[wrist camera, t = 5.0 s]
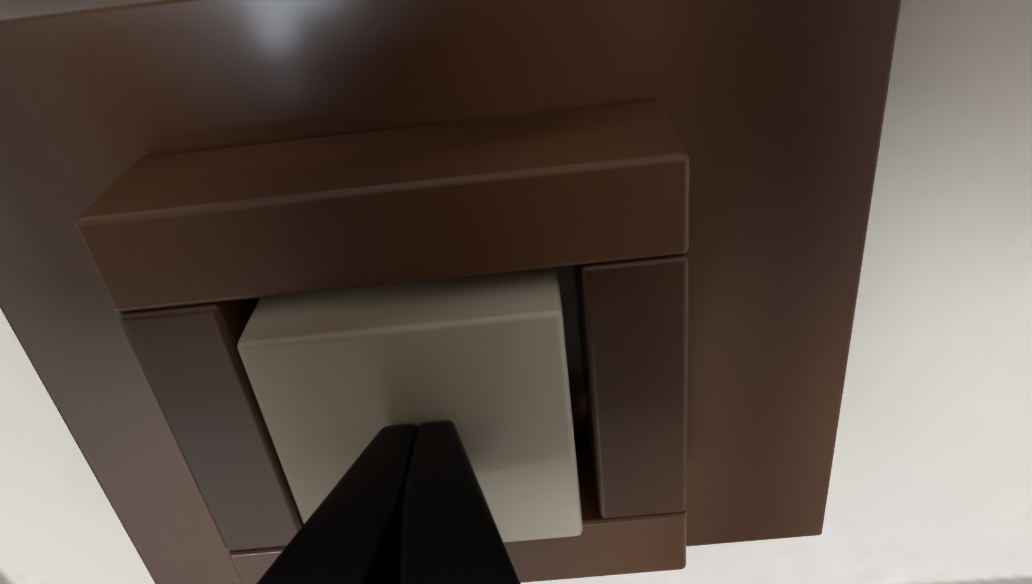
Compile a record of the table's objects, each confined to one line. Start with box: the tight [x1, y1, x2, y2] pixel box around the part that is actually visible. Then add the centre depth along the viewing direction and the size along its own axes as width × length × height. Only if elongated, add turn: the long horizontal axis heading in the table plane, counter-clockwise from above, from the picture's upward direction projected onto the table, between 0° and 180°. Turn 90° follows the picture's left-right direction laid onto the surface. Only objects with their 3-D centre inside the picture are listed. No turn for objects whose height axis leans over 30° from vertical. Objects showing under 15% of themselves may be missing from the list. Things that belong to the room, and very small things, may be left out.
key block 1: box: [0, 0, 901, 584], centre depth 11 cm, size 12×10×4 cm
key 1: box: [237, 267, 583, 542], centre depth 10 cm, size 4×4×2 cm
